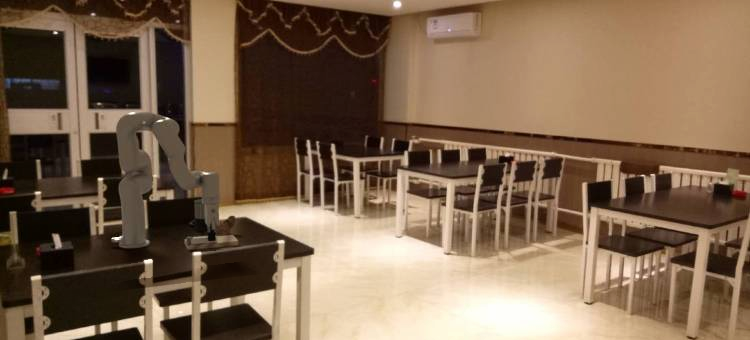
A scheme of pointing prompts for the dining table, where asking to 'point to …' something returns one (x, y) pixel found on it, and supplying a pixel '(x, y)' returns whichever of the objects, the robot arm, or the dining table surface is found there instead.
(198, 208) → the milk frother
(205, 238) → the grey lumpy rod
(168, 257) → the dining table surface
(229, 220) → the lion figurine
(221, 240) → the grey tray
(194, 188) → the robot arm
